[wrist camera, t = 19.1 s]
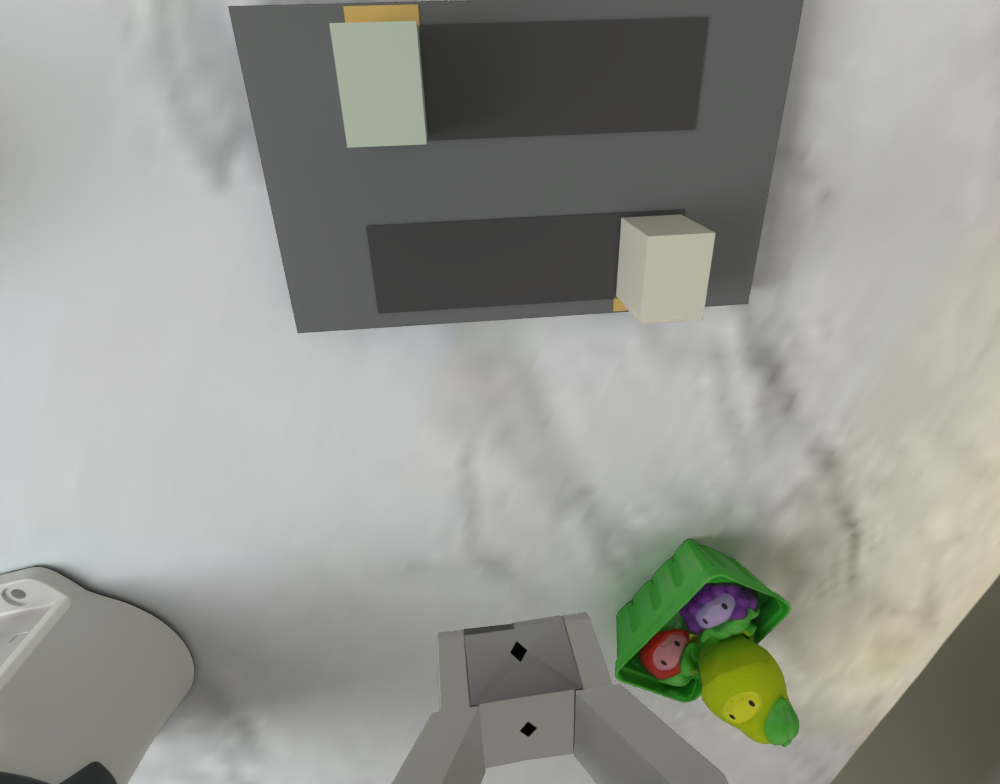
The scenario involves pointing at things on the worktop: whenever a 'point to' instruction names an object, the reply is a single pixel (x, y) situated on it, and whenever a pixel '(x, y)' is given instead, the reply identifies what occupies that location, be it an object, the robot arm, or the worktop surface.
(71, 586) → the robot arm
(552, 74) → the switch panel
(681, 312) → the cream tab
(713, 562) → the fruit basket
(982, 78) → the worktop surface
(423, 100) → the sage tab
